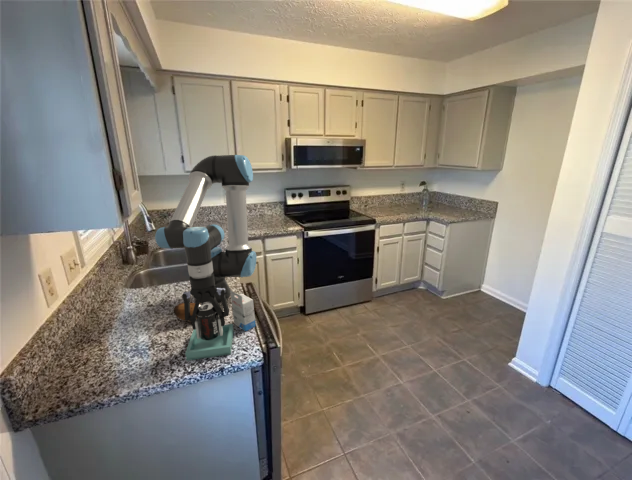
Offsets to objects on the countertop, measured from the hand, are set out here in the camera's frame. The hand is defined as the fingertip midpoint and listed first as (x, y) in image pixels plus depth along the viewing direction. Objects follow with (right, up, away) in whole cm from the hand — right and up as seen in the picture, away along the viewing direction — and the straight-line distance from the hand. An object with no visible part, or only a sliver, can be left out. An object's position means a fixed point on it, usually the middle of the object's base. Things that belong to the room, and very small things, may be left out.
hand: (210, 334), depth 102 cm
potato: (-13, 0, +17) cm, 22 cm away
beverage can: (0, -1, 0) cm, 1 cm away
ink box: (+9, 0, +13) cm, 16 cm away
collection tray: (0, -4, +1) cm, 4 cm away
